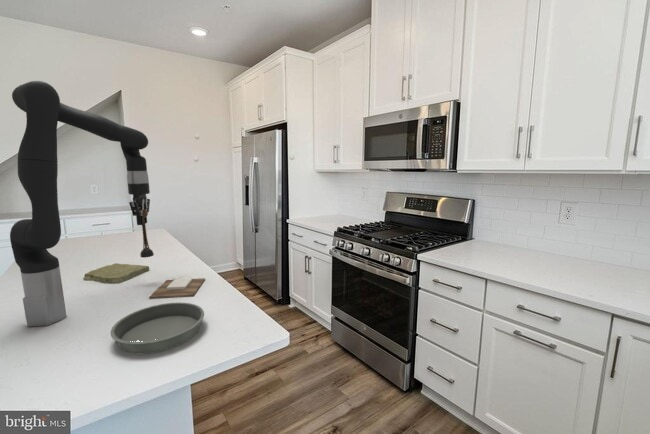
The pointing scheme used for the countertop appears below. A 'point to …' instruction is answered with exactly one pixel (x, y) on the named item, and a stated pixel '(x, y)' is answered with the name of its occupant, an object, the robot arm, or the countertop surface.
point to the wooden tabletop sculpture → (145, 239)
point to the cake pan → (158, 327)
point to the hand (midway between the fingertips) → (142, 223)
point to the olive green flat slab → (115, 273)
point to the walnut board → (188, 292)
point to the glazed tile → (179, 284)
